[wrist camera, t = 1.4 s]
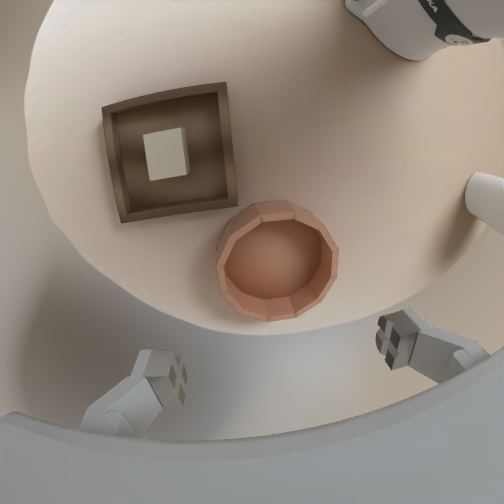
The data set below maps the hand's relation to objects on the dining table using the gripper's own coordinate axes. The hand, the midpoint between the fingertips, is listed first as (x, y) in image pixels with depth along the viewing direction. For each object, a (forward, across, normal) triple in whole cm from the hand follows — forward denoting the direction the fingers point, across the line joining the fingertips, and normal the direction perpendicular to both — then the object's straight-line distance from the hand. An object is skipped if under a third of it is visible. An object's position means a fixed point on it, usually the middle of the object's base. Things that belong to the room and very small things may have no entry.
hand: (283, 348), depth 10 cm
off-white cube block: (+23, +8, -8) cm, 26 cm away
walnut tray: (+24, +8, -9) cm, 27 cm away
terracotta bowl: (+26, -3, +7) cm, 27 cm away
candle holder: (+27, -43, +1) cm, 51 cm away
